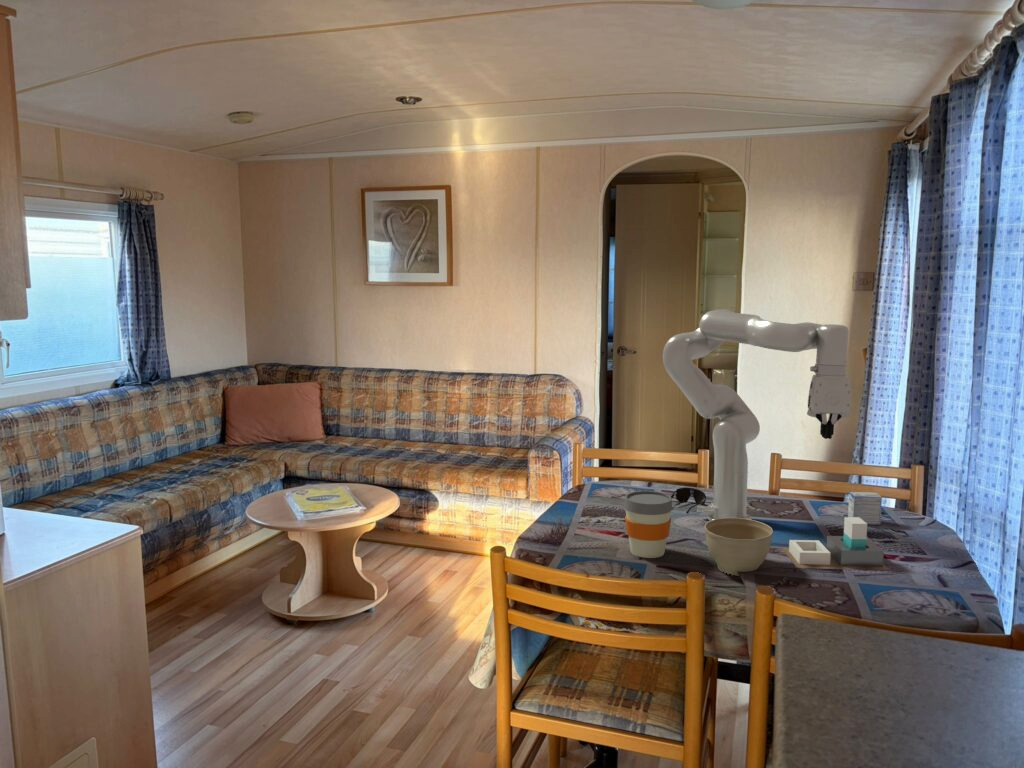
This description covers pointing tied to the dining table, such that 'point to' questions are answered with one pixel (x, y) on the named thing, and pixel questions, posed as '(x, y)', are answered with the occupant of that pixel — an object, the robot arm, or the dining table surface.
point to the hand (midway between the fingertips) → (826, 437)
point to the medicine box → (865, 506)
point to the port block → (855, 553)
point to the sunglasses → (685, 493)
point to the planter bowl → (738, 543)
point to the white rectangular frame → (809, 552)
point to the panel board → (832, 565)
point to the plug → (855, 532)
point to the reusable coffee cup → (647, 522)
